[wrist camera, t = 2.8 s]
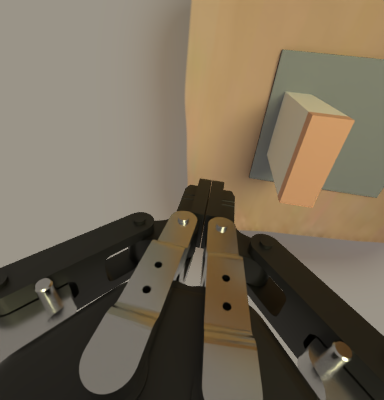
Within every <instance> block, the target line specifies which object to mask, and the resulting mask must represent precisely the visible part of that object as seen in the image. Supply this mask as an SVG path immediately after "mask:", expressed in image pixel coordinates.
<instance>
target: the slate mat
mask: <svg viewBox="0 0 384 400" xmlns="http://www.w3.org/2000/svg"><path fill="white" fill-rule="evenodd" d="M285 91H286V92H295V93H303V94H311V95H313V96H315V97H317V98H318V99H320V100H322V101H323V102H325V103H327V104H328V105H330V106H332V107H333V108H335V109H337V110H338V111H340V112H342V113H343V114H345V115H347V116H348V117H350V118H352V119H353V120H355V122H354V124H353V126H352V128H351V130H350V132H349V134H348V136H347V138H346V140H345V142H344V144H343V146H342V148H341V150H340V152H339V154H338V156H337V158H336V160H335V162H334V165H333V167H332V169H331V171H330V173H329V175H328V177H327V179H326V181H325V183H324V185H323V187H322V189H324V190H330V191H337V192H343V193H349V194H356V195H362V196H369V197H375V198H377V197H378V195H379V194H380V192H381V191H382V189H383V188H384V59H374V58H364V57H354V56H343V55H333V54H323V53H313V52H303V51H292V50H282V53H281V57H280V60H279V64H278V68H277V72H276V76H275V80H274V83H273V87H272V91H271V95H270V99H269V103H268V106H267V110H266V114H265V118H264V122H263V126H262V129H261V133H260V137H259V141H258V145H257V149H256V152H255V156H254V160H253V164H252V168H251V172H250V175H249V178H253V179H260V180H266V181H273V182H274V179H273V176H272V172H271V168H270V164H269V161H268V157H267V152H268V149H269V145H270V142H271V138H272V135H273V132H274V128H275V125H276V121H277V118H278V115H279V111H280V108H281V104H282V101H283V98H284V94H285Z"/></svg>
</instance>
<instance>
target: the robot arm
mask: <svg viewBox="0 0 384 400" xmlns="http://www.w3.org/2000/svg"><path fill="white" fill-rule="evenodd" d="M211 181H212V180H207V179H200V180H199V184H198V186H194V185H190V186H188V187H187V188H186V189H185V191H184V194H183V196H182V199H181V202H180V204H179V207H178V209H177V212H175V213H173V214H172V215H171V217H170V218H169V219H167V220H162V221H154V218H153V217H152V216H151V215H150V214H147V213H144V212H138V213H134V214H131V215H128V216H126V217H124V218H121V219H119V220H116V221H114V222H111V223H109V224H107V225H104V226H102V227H99V228H97V229H95V230H92V231H90V232H87V233H85V234H82V235H80V236H77V237H75V238H72V239H70V240H68V241H65V242H63V243H60V244H58V245H56V246H53V247H51V248H48V249H46V250H43V251H41V252H38V253H36V254H33V255H31V256H29V257H26V258H24V259H21V260H19V261H16V262H14V263H12V264H9V265H7V266H4V267H2V268H0V400H384V336H383V335H382V334H380V333H379V332H378V331H377V330H376V329H375V328H374V327H373V326H371V325H370V324H369V323H368V322H367V321H366V320H365V319H364V318H363V317H362V316H361V315H359V314H358V313H357V312H356V311H355V310H354V309H353V308H352V307H350V306H349V305H348V304H347V303H346V302H345V301H344V300H343V299H341V298H340V297H339V296H338V295H337V294H336V293H335V292H333V290H332V289H330V288H329V287H328V286H327V285H326V284H325V283H324V282H322V281H321V280H320V279H319V278H318V277H317V276H316V275H315V274H314V273H313V272H311V271H310V270H309V269H308V268H307V267H306V266H304V264H303V263H301V262H300V261H299V260H298V259H297V258H296V257H295V256H294V255H292V254H291V253H290V252H289V251H288V250H287V249H286V248H285V247H284V246H282V245H281V244H280V243H279V242H278V241H277V240H276V239H274V238H273V237H271V236H269V235H265V234H256V235H254V236H253V237H252V238H250V237H248V236H246V235H243V234H242V233H240V232H239V231H238V230H237V229H236V226H235V224H234V204H235V203H234V202H235V196H234V195H233V193H232V192H231V191H226V190H223V188H224V182H220V181H212V186H211ZM210 188H211V191H210ZM209 194H210V196H209ZM204 222H205V223H204ZM203 227H204V229H203ZM202 233H203V236H202ZM201 238H202V243H201ZM200 243H201V248H204V252H203V258H202V268H201V282H200V286H193V287H192V286H187V285H185V284H184V283H185V280H186V277H187V274H188V271H189V268H190V265H191V262H192V258H193V254H194V252H195V247H198V248H199V247H200ZM127 247H128V249H127V250H125V251H123V252H121V253H119V254H117V255H115V256H113V257H111V258H109V259H107V258H108V257H109V256H111V255H113V254H115V253H117V252H119V251H121V250H123V249H125V248H127ZM106 259H107V260H106ZM269 276H270V277H271V278H270V277H269ZM128 279H130V280H129V281H128V282H126V283H123V282H125V281H127V280H128ZM122 283H123V284H122ZM120 284H121V285H120ZM118 285H119V286H118ZM278 286H279V287H280V288H281V289H282V290H281V289H280V288H279V287H278ZM113 288H114V289H113ZM111 289H112V290H111ZM110 290H111V291H110ZM108 291H109V292H108ZM106 292H108V293H106ZM105 293H106V294H105ZM103 294H104V295H103ZM247 294H248V295H249V297H250V298H251V299H252V301H253V302H254V303H255V304H256V306H257V307H258V308H259V310H260V311H261V312H262V313H263V315H264V316H265V317H266V319H267V320H268V321H269V322H270V324H271V325H272V326H273V328H274V329H275V330H276V331H277V333H278V334H279V335H280V337H281V338H282V339H283V341H284V342H285V343H286V344H287V346H288V347H289V348H290V350H291V351H292V352H293V353H294V355H295V356H296V357H297V359H298V368H297V366H296V365H295V364H294V362H293V361H292V359H291V358H290V357H289V355H288V354H287V353H286V351H285V350H284V348H283V347H282V345H281V344H280V343H279V341H278V340H277V338H276V337H275V336H274V334H273V333H272V332H271V330H270V329H269V327H268V326H267V325H266V323H265V322H264V320H263V319H262V318H261V316H260V315H259V314H258V313H257V312H256V311H255V310H254V309H253V308H252V307H251V306H249V305H248V297H247ZM101 295H103V296H101ZM100 296H101V297H100ZM98 297H100V298H98ZM96 298H98V299H97V300H95V299H96ZM93 300H95V301H94V302H92V303H90V302H91V301H93ZM88 303H90V304H89V305H87V306H86V307H84V308H83V309H81V310H80V311H78V312H76V310H78V309H80V308H81V307H83V306H84V305H86V304H88Z"/></svg>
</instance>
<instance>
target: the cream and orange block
mask: <svg viewBox="0 0 384 400" xmlns="http://www.w3.org/2000/svg"><path fill="white" fill-rule="evenodd" d="M354 122H355V120H353V119H352V118H350V117H348V116H347V115H345V114H343V113H342V112H340V111H338V110H337V109H335V108H333V107H332V106H330V105H328V104H327V103H325V102H323V101H322V100H320V99H318V98H317V97H315V96H313V95H311V94H303V93H295V92H286V91H285V94H284V98H283V101H282V104H281V108H280V111H279V115H278V118H277V121H276V125H275V128H274V132H273V135H272V138H271V142H270V145H269V149H268V152H267V157H268V161H269V164H270V168H271V172H272V176H273V179H274V183H275V187H276V191H277V194H278V198H279V202H280V203H286V204H292V205H298V206H304V207H310V208H312V207H313V205H314V203H315V201H316V199H317V197H318V195H319V193H320V191H321V189H322V187H323V185H324V183H325V181H326V179H327V177H328V175H329V173H330V171H331V169H332V167H333V165H334V162H335V160H336V158H337V156H338V154H339V152H340V150H341V148H342V146H343V144H344V142H345V140H346V138H347V136H348V134H349V132H350V130H351V128H352V126H353V124H354Z"/></svg>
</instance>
